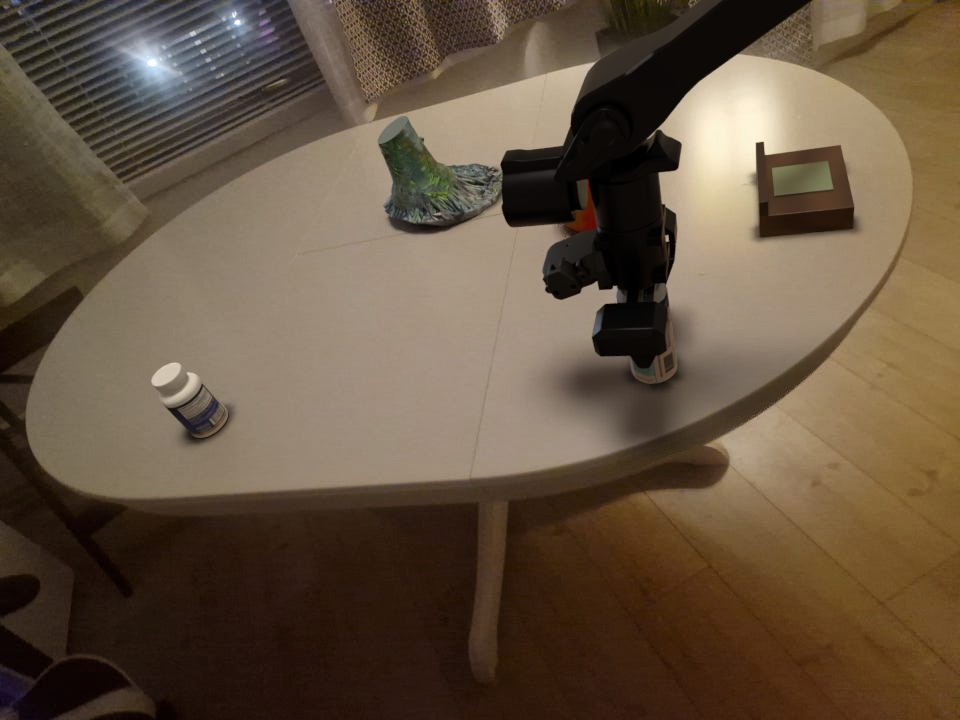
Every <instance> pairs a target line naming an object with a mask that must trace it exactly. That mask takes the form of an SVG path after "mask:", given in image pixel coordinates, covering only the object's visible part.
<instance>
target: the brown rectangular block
mask: <svg viewBox="0 0 960 720" xmlns="http://www.w3.org/2000/svg"><path fill="white" fill-rule="evenodd" d="M755 180H756V188H757V189H756V190H757V209H758V210H757V211H758V235H759V238H761V237H762V238H763V237H773V236H774V237H775V236H784V235H795V234H806V233H816V232H827V231H829V232H830V231H839V230H850V229H853V226H854V218H855V217H854V216H855V203H854V197H853V193H852V189H851V185H850V180H849V176H848V171H847V167H846V162H845V159H844V153H843V149H842V145H841V144H836V145H829V146H822V147H816V148H815V147H814V148H808V149H807V148H806V149H799V150H793V151H786V152H778V153H771V154H766V150H765V141H757V142H755Z"/></svg>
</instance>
